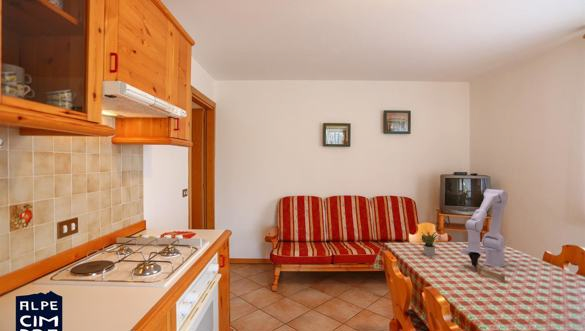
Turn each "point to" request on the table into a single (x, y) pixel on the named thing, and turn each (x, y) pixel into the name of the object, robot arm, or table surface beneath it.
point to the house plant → (429, 244)
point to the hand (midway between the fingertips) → (473, 265)
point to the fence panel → (477, 265)
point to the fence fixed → (491, 274)
